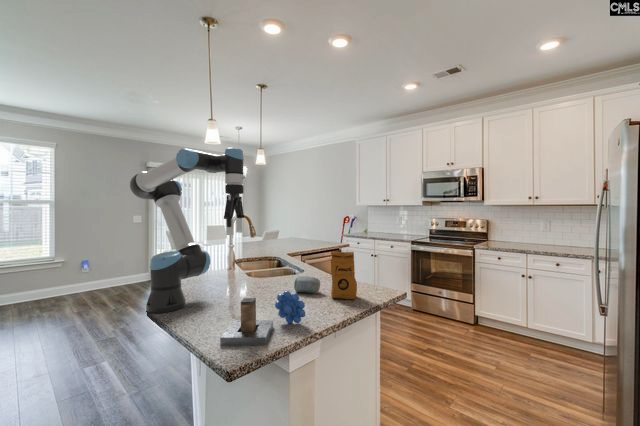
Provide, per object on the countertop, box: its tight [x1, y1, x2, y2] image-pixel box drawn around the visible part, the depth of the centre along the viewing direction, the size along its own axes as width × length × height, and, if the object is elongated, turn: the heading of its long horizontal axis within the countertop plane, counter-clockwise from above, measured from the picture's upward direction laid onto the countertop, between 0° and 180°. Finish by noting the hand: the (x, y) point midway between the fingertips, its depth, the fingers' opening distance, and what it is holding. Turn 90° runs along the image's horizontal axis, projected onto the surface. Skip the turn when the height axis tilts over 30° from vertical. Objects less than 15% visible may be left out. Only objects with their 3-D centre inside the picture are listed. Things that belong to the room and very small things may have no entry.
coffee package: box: [330, 251, 358, 300], centre depth 138 cm, size 10×12×22 cm
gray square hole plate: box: [219, 319, 274, 347], centre depth 97 cm, size 14×14×2 cm
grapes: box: [274, 290, 306, 324], centre depth 106 cm, size 12×7×12 cm, turn 79°
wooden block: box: [240, 297, 257, 332], centre depth 97 cm, size 4×4×12 cm
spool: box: [293, 275, 321, 295], centre depth 147 cm, size 14×10×10 cm
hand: (234, 233), depth 125 cm, fingers open, 13 cm apart
